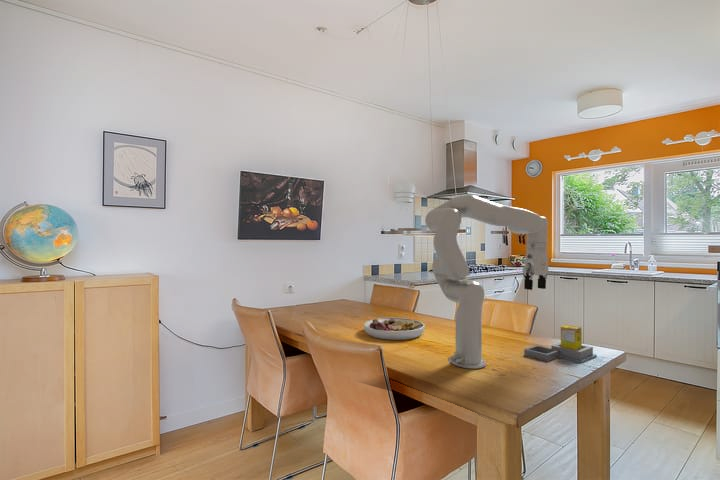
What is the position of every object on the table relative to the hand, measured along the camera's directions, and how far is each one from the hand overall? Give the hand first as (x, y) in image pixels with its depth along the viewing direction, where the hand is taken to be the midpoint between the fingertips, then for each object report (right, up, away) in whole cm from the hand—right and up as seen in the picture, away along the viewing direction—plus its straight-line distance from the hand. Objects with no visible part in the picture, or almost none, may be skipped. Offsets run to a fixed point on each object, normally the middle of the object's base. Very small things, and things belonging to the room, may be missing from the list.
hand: (535, 288), depth 155 cm
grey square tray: (+2, -27, -2) cm, 27 cm away
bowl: (-54, -27, +35) cm, 70 cm away
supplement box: (+14, -26, -2) cm, 29 cm away
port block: (+14, -27, -2) cm, 30 cm away
